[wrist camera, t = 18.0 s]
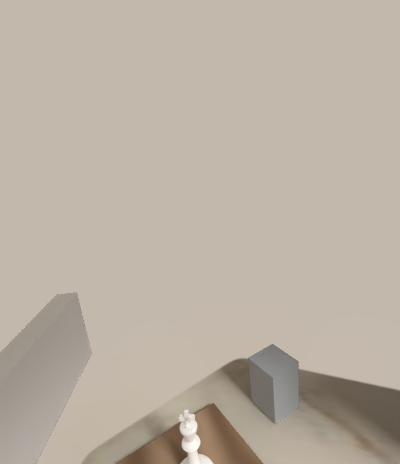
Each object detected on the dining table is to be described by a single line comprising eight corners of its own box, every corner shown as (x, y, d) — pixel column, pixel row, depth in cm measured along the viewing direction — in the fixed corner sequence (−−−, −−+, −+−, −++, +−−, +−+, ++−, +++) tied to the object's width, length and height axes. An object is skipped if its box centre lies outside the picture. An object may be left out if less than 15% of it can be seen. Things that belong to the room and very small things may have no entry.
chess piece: (217, 502, 31) (208, 431, 28) (173, 504, 31) (160, 434, 29) (216, 456, 36) (208, 391, 33) (178, 457, 36) (167, 394, 33)
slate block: (274, 385, 47) (272, 343, 44) (299, 406, 42) (298, 361, 40) (251, 400, 44) (248, 357, 42) (275, 424, 40) (273, 378, 38)
